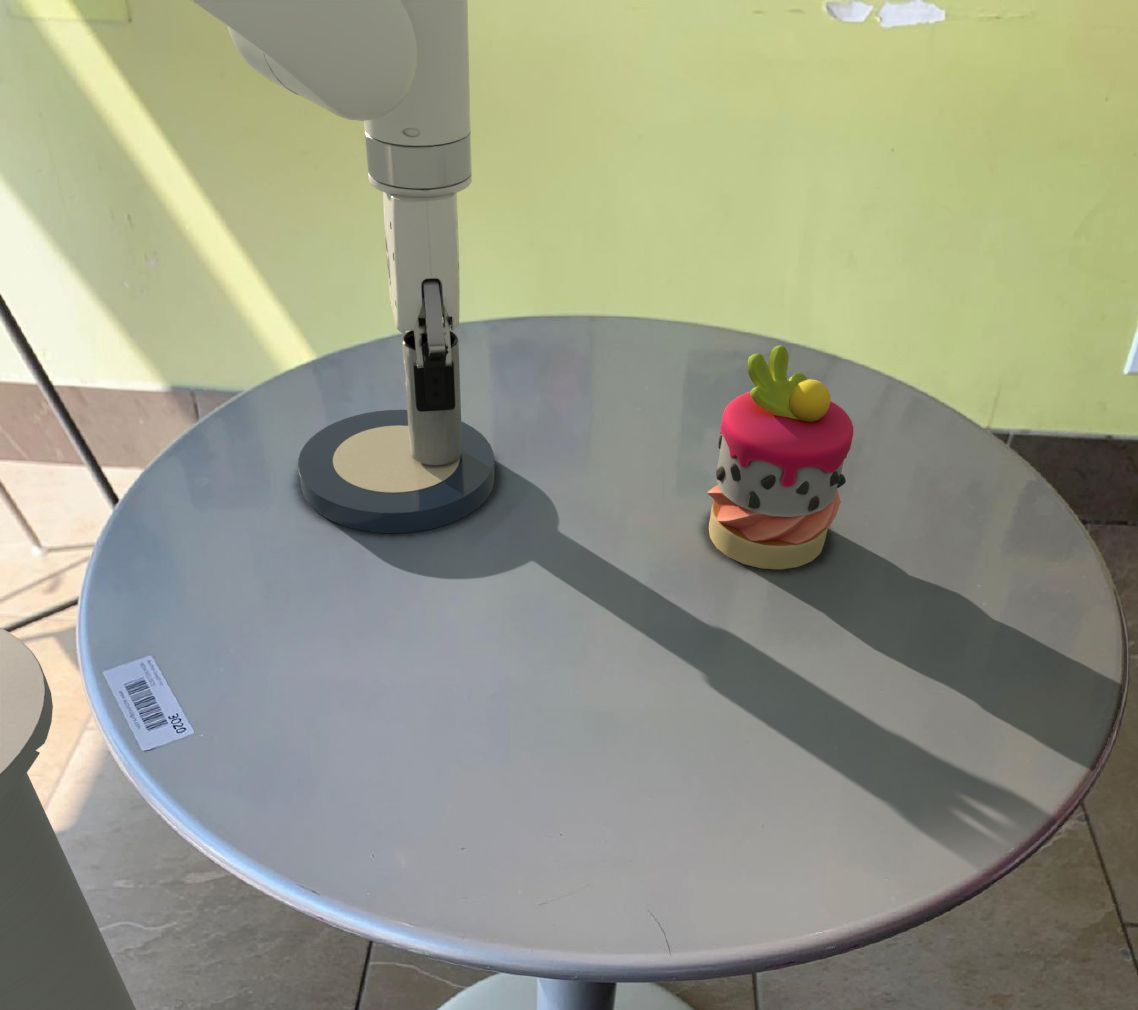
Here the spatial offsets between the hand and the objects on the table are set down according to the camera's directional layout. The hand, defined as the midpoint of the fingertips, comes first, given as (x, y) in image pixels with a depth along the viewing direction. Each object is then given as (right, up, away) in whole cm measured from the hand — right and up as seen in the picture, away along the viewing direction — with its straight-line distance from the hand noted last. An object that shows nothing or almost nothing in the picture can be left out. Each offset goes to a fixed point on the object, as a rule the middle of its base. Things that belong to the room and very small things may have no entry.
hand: (432, 391), depth 93 cm
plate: (-4, -6, +5) cm, 9 cm away
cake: (+28, -12, +1) cm, 31 cm away
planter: (0, -4, +4) cm, 6 cm away
